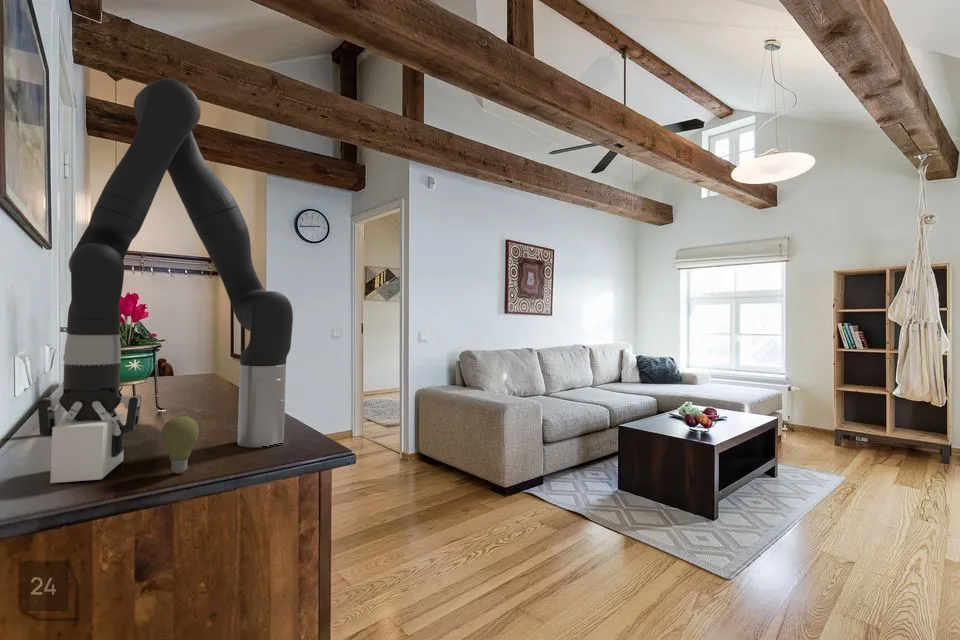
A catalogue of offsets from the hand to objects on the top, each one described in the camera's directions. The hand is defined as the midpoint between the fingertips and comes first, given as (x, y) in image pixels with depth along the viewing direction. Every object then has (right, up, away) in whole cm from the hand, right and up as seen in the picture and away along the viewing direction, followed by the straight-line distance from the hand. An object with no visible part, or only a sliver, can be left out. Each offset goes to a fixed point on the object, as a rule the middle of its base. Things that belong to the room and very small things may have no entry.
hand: (89, 457), depth 81 cm
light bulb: (+14, -3, +2) cm, 15 cm away
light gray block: (0, -2, 0) cm, 2 cm away
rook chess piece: (-27, -2, +25) cm, 37 cm away
